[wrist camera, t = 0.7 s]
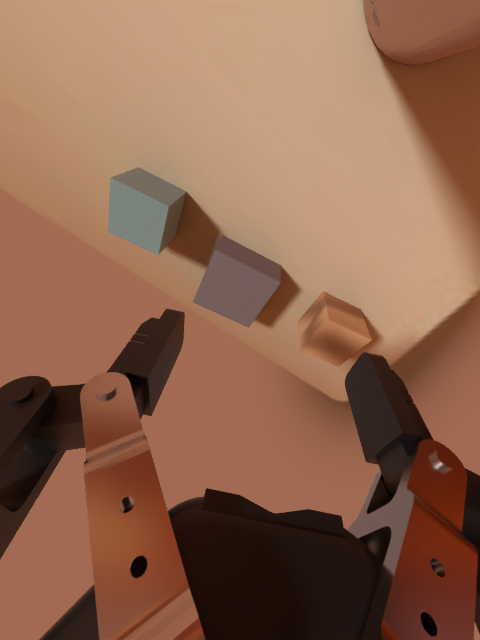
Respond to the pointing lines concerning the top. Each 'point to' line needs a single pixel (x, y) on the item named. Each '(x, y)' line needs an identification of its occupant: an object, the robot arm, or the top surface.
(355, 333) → the oak block
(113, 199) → the teal block
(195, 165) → the top surface
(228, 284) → the charcoal block
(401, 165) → the top surface
